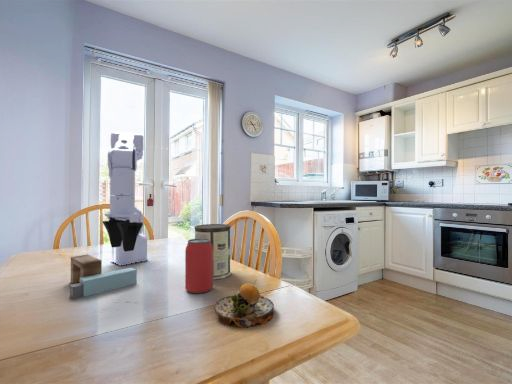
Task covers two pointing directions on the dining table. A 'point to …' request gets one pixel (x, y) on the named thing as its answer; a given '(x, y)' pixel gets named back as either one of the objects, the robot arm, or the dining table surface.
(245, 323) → the plated food dish
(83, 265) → the brown block
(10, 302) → the dining table surface
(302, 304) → the dining table surface
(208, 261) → the beer can
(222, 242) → the coffee can
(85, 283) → the light blue pillar
